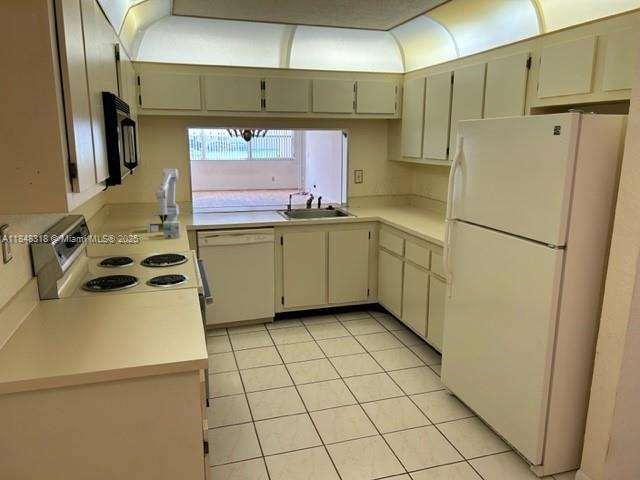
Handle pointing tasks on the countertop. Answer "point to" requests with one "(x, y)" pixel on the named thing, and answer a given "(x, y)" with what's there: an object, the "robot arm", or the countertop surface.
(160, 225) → the shelf
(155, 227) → the book
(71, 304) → the countertop surface
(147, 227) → the bookend
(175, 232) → the light bulb box
